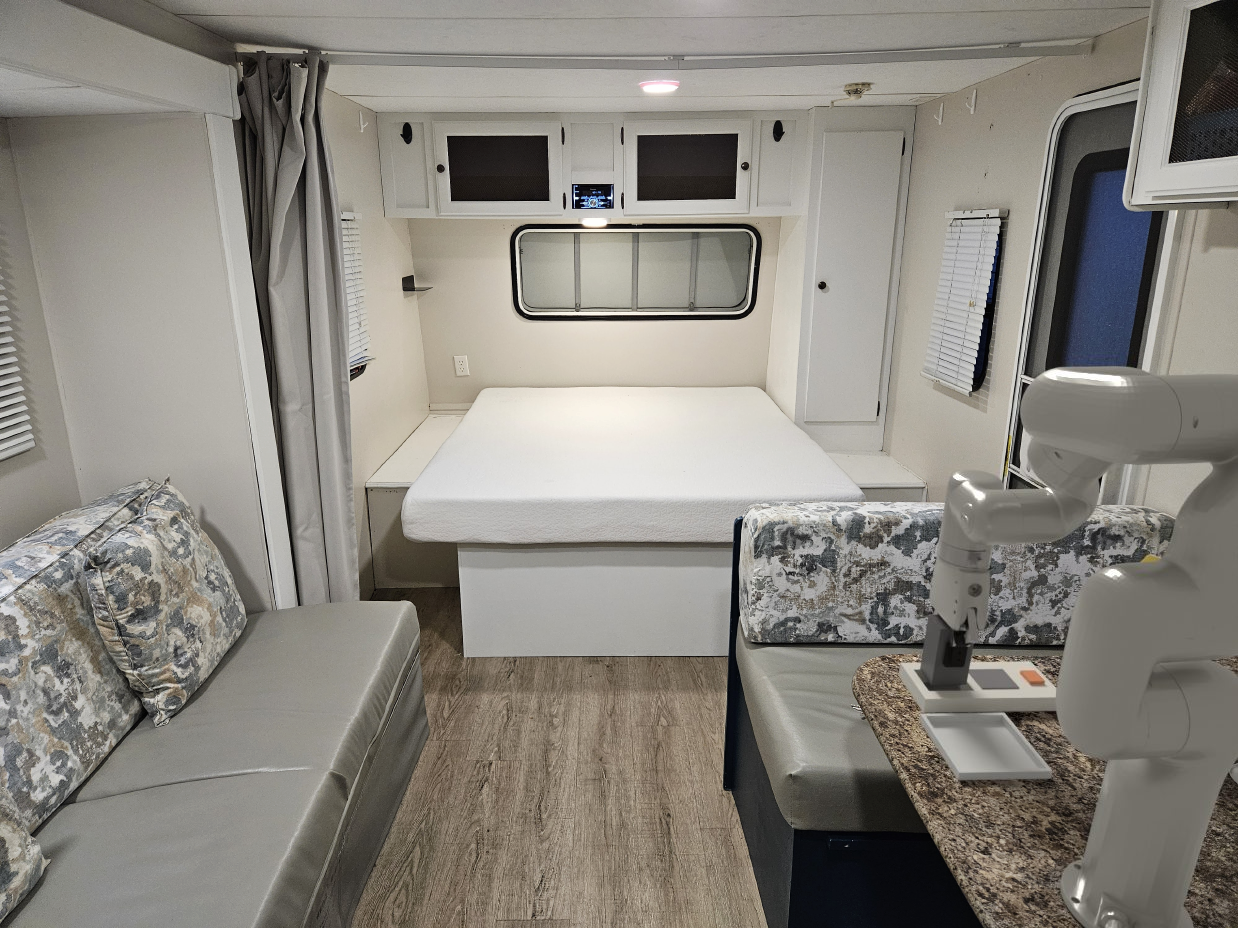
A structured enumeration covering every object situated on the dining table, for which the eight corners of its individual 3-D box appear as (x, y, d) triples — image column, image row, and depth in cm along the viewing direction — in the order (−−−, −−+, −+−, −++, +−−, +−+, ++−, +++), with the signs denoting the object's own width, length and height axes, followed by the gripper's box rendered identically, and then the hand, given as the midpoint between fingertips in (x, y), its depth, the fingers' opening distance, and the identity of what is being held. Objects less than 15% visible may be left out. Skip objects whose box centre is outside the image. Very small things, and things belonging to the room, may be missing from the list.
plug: (966, 684, 123) (976, 628, 120) (931, 684, 123) (940, 628, 120) (953, 668, 127) (963, 614, 124) (919, 669, 127) (928, 614, 124)
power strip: (1061, 713, 122) (1066, 693, 121) (922, 715, 121) (925, 695, 120) (1027, 676, 131) (1031, 658, 130) (898, 678, 130) (900, 659, 129)
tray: (1050, 781, 107) (1052, 770, 107) (957, 783, 107) (959, 772, 106) (1002, 722, 120) (1004, 712, 119) (918, 723, 119) (920, 713, 118)
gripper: (1017, 577, 110) (995, 688, 116) (963, 529, 126) (946, 629, 132) (965, 577, 110) (946, 688, 116) (917, 529, 126) (902, 629, 132)
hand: (946, 655), depth 124 cm, fingers closed on plug, 4 cm apart
